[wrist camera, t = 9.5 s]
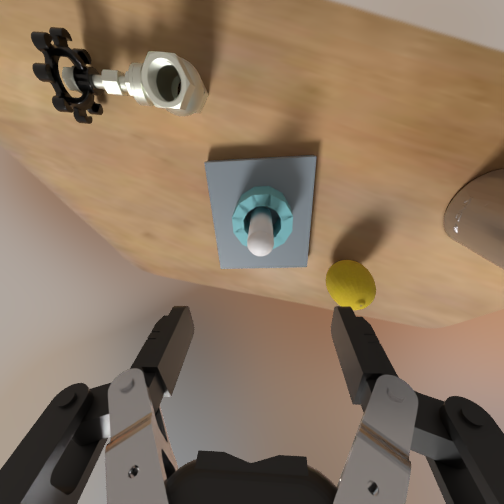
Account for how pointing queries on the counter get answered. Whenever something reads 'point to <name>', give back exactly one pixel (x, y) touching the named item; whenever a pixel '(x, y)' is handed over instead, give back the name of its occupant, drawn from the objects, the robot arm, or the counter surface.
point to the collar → (263, 198)
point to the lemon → (350, 284)
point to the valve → (117, 79)
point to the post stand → (262, 209)
